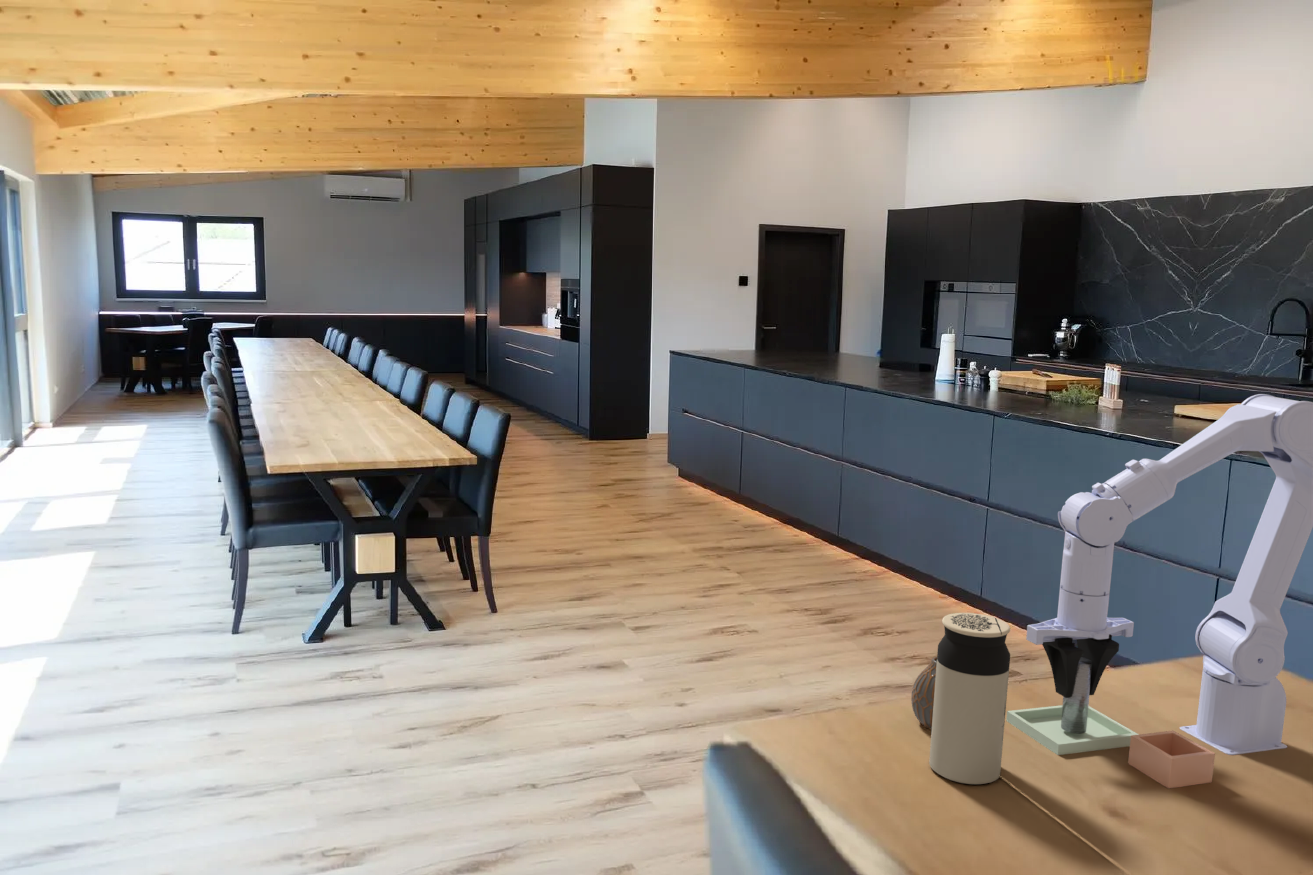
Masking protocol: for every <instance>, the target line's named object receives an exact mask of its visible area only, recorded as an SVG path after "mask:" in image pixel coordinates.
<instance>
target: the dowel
mask: <svg viewBox="0 0 1313 875" xmlns="http://www.w3.org/2000/svg"><path fill="white" fill-rule="evenodd" d="M1091 671H1092V661H1091V660H1089V659H1086V658H1083V657H1081V658H1080V660H1079V663H1078V666H1077V669H1076V673H1075V679H1074V687H1073V692H1072V695H1071V697H1070V698H1065V697H1064V696H1062V697H1063V698H1062V705H1063V706H1062V718H1061V728H1062V729H1063V730H1065V731H1067V732H1070V733H1076V734H1082V733H1085V732H1086V729H1087V718H1088V706H1090V705H1089V703H1090V695H1089V694H1090V682H1091Z"/></svg>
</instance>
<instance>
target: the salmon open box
mask: <svg viewBox="0 0 1313 875" xmlns="http://www.w3.org/2000/svg"><path fill="white" fill-rule="evenodd" d="M1138 734H1139V735H1131V740H1130V746H1129V749H1128V750H1129V751H1128V760H1127V764H1128V765H1129V766H1131V767H1133V768H1134V769H1136V770H1138V771H1139V772H1141V773H1143V774H1144V775H1145V776H1147V777H1149V778H1150V779H1152V780H1153V781H1155V782H1157V783H1159V784H1160V785H1162V786H1164V787H1166V789H1175V788H1182V787H1189V786H1190V787H1191V786H1194V785H1195V786H1196V785H1202V784H1209V783H1212V782H1213V776H1214V769H1215V768H1214V767H1215V766H1214V765H1215V759H1216V758H1215V757H1216V753H1215V752H1214V751H1212V750H1210V749H1208V748H1207V747H1205V746H1203V745H1201V744H1199V743H1197V742H1195V741H1194V740H1191V738H1188V737H1186V736H1184V735H1183V734H1180V733H1179V732H1177V731H1175V730H1173V729H1171V730H1164V731H1157V732H1150V733H1142V734H1141V733H1138Z"/></svg>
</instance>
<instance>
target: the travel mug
mask: <svg viewBox="0 0 1313 875" xmlns="http://www.w3.org/2000/svg"><path fill="white" fill-rule="evenodd" d="M941 623H942V625H943V627H944V636H943V637H942V639H940V641H939V643H938V644H937V651H936V652H937V654H936V657H937V666H936V679H935V692H934V706H933V719H932V729H931V736H930V746H929V747H930V749H929V759H928V760H929V761H928V764H929V766H930V768H931V769H932V770H933V771H934V772H935V773H937V775H940V776H941V777H943V778H945V779H947V780H949V781H952V782H955V783H959V784H963V785H972V786H973V785H975V786H977V785H983V784H988V783H989V784H990V783H992V782H995V781H997V780H998V779H999V778H1000V776H1001V771H1002V770H1001V768H1002V758H1003V757H1002V755H1003V746H1004V734H1005V721H1006V713H1007V710H1006V709H1007V698H1008V689H1009V688H1008V686H1009V678H1010V677H1009V675H1010V664H1011V662H1010V661H1011V653H1010V650H1009V648H1008V646H1007V644H1006V640H1007V636H1008V634H1009V633H1010V632H1011V627H1010V625H1009V623H1007V622H1006V621H1004V620H1002V619H1000V618H998V617H994V616H992V615H991V616H990V615H986V614H981V613H973V612H956V613H949V614H946V615H944V616H943V617H942V620H941Z"/></svg>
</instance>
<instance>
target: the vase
mask: <svg viewBox="0 0 1313 875" xmlns="http://www.w3.org/2000/svg"><path fill="white" fill-rule="evenodd" d="M936 666H937V656H935V657H932V659H931V661H930V662H929V664H928V665H927V666H926V667H925V668H924V669H923V670H922V671H921V672H920V673H919V674H918V675H917V677H916V679H915V680H914V683H913V685H912V689H911V707H912V711H913V714H914V717H915V718H916V719H917V720H918V721H919V723H920V724H921V725H922V726H923V727H925V728H926V729H929V730H932V719H933V706H934V692H935V679H936Z"/></svg>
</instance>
